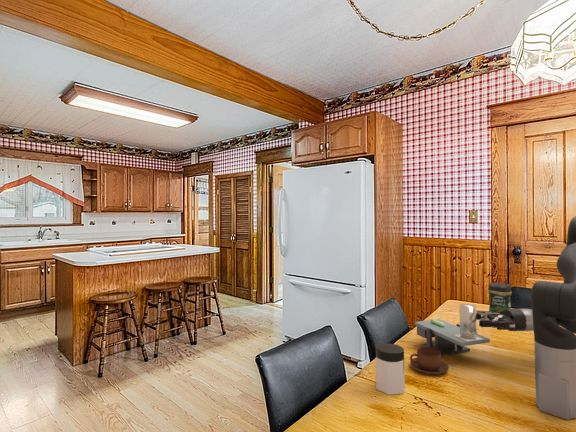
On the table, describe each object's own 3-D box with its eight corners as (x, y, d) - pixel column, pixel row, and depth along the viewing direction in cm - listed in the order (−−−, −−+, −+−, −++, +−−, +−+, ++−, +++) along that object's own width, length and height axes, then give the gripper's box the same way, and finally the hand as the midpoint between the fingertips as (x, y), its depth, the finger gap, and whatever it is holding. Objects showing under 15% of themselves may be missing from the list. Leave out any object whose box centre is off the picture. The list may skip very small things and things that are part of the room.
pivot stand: (420, 349, 132) (419, 325, 133) (454, 344, 137) (453, 321, 137) (434, 356, 125) (434, 332, 125) (470, 351, 129) (469, 327, 129)
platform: (414, 334, 139) (414, 317, 139) (439, 331, 142) (439, 315, 142) (462, 358, 115) (461, 337, 115) (490, 353, 118) (489, 334, 118)
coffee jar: (486, 320, 167) (485, 282, 167) (492, 317, 172) (491, 280, 173) (509, 325, 160) (508, 285, 160) (514, 321, 165) (513, 283, 166)
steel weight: (473, 340, 116) (472, 308, 117) (457, 336, 120) (456, 305, 120) (479, 336, 120) (478, 305, 120) (463, 333, 124) (462, 303, 124)
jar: (399, 380, 107) (398, 342, 107) (411, 393, 99) (410, 352, 99) (371, 382, 106) (370, 343, 106) (381, 396, 98) (380, 354, 98)
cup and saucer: (425, 380, 107) (425, 360, 107) (403, 364, 119) (402, 347, 119) (457, 375, 110) (456, 356, 111) (432, 360, 122) (431, 343, 122)
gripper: (508, 304, 126) (463, 304, 127) (534, 314, 112) (483, 314, 113) (508, 324, 126) (464, 324, 127) (534, 337, 112) (484, 337, 113)
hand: (473, 319), depth 120 cm, fingers open, 8 cm apart
